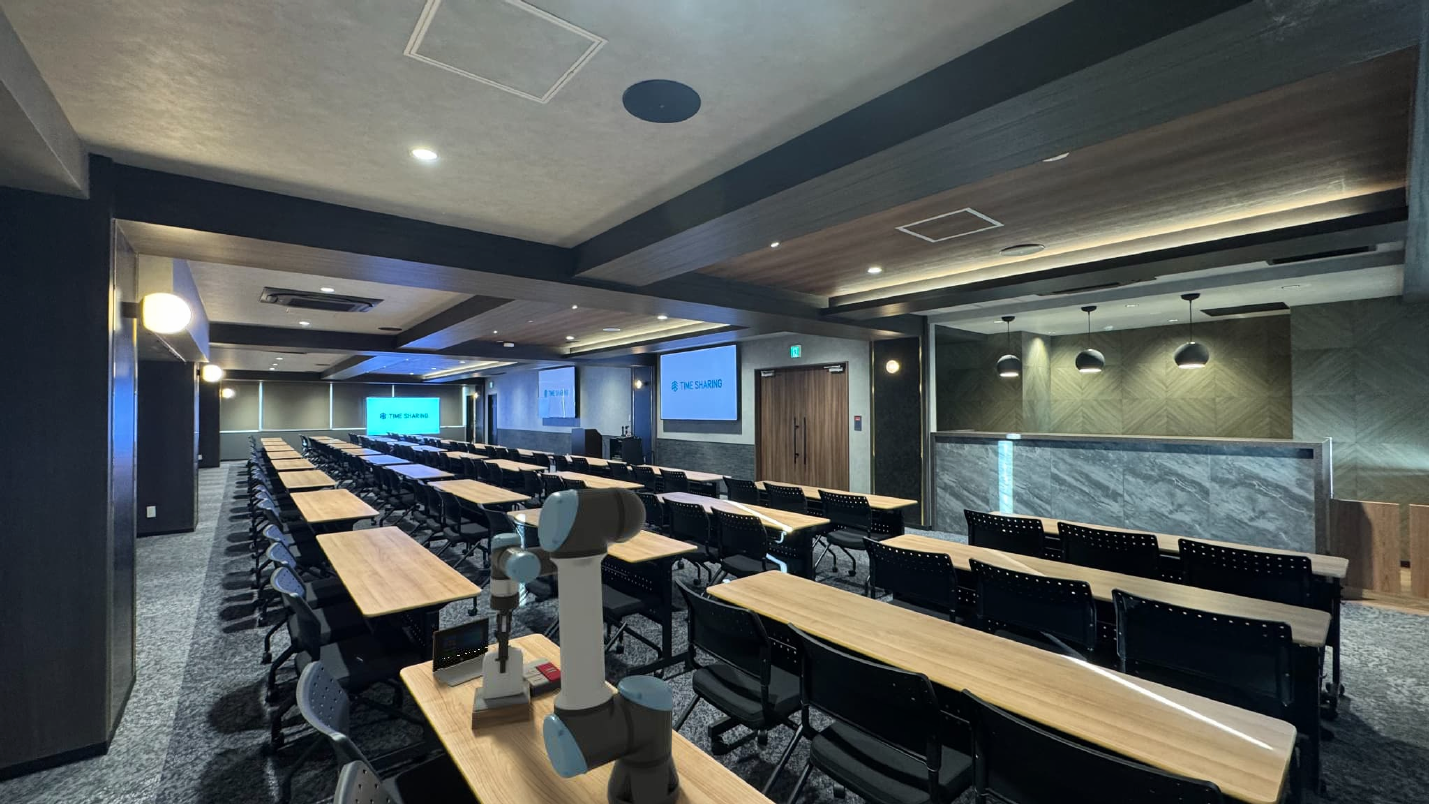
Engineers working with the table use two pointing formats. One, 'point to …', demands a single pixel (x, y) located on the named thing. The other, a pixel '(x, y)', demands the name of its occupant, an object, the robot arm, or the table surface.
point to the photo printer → (514, 674)
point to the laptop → (460, 651)
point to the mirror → (501, 708)
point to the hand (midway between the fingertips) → (502, 679)
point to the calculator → (541, 676)
